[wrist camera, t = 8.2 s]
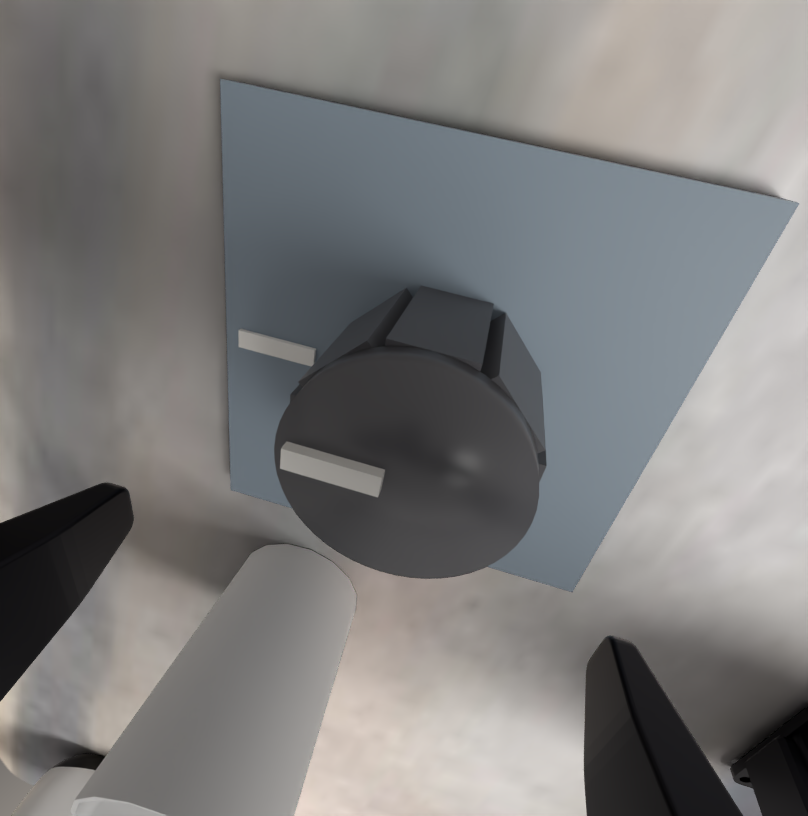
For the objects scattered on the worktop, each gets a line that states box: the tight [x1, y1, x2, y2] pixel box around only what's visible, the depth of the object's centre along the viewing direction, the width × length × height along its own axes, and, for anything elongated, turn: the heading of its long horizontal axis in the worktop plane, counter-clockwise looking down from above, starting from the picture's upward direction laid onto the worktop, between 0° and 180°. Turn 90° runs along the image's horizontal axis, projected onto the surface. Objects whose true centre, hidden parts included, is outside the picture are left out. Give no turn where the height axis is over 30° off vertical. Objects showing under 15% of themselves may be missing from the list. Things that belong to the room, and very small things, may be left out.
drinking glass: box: [71, 544, 357, 816], centre depth 19 cm, size 7×7×10 cm
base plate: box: [220, 79, 799, 592], centre depth 14 cm, size 14×14×4 cm
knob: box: [274, 286, 547, 579], centre depth 13 cm, size 6×6×5 cm
